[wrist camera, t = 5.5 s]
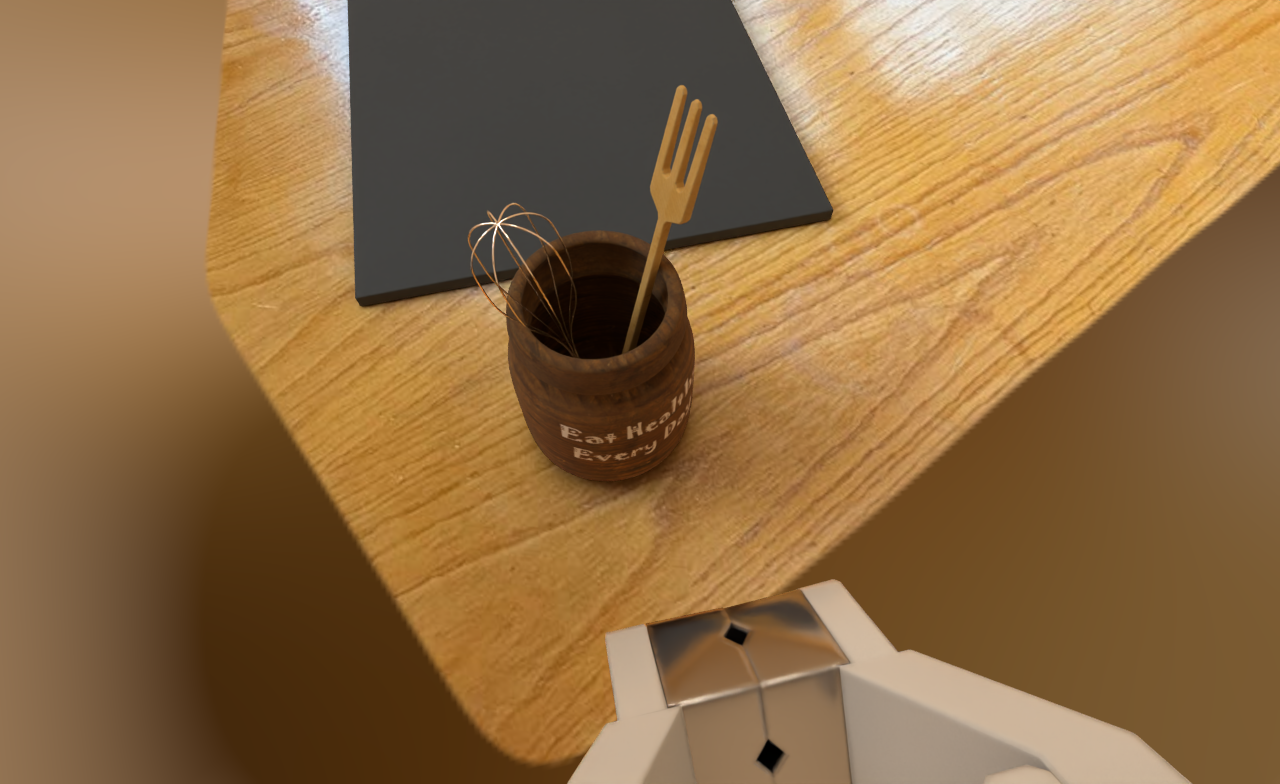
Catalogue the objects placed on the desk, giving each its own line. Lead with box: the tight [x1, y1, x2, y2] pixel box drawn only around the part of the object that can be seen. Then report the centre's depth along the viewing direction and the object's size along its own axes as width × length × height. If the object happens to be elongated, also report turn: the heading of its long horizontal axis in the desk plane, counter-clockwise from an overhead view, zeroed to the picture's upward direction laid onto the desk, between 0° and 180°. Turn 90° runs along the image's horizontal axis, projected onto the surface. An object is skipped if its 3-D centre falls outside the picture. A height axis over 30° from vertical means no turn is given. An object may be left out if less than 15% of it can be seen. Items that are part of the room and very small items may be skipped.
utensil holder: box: [468, 85, 718, 481], centre depth 21 cm, size 6×6×12 cm
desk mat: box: [348, 0, 833, 306], centre depth 38 cm, size 20×36×1 cm, turn 12°
